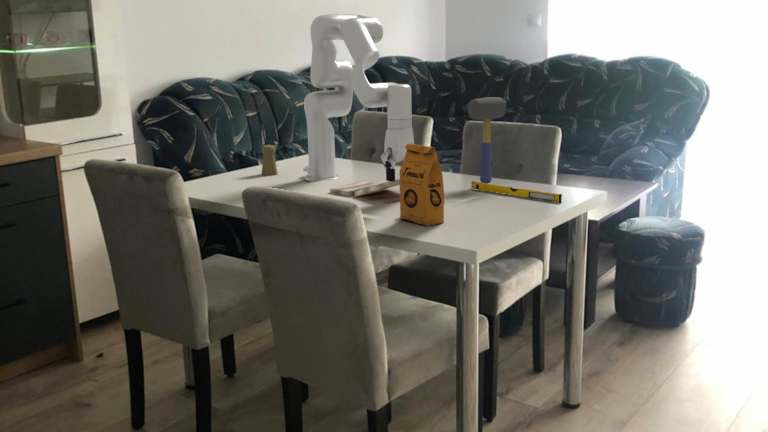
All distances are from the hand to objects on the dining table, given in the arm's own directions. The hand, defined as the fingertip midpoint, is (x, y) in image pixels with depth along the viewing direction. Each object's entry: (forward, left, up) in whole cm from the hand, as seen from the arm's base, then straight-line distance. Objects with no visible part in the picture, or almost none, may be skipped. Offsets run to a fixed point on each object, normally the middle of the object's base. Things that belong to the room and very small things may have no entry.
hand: (400, 178), depth 259 cm
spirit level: (+24, +29, -8) cm, 38 cm away
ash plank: (-6, 0, -4) cm, 7 cm away
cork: (-69, +6, -8) cm, 70 cm away
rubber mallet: (+6, +39, -7) cm, 40 cm away
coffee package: (+22, -17, -8) cm, 29 cm away
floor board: (-11, 0, -7) cm, 13 cm away
